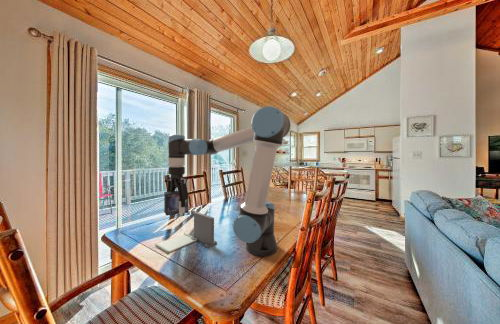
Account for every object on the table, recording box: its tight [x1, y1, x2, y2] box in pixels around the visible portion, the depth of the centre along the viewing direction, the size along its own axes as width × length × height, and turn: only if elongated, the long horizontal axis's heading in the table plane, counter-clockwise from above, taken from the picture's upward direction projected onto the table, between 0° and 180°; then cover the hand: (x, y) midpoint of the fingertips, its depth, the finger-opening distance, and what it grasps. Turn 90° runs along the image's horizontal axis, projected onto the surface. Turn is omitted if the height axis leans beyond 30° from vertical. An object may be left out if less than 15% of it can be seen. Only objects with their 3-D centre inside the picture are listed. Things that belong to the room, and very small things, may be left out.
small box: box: [163, 190, 189, 216], centre depth 98 cm, size 11×6×10 cm, turn 122°
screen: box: [191, 211, 218, 249], centre depth 101 cm, size 14×6×14 cm, turn 52°
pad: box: [154, 232, 198, 254], centre depth 99 cm, size 11×17×1 cm, turn 142°
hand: (176, 211), depth 98 cm, fingers closed on small box, 8 cm apart
